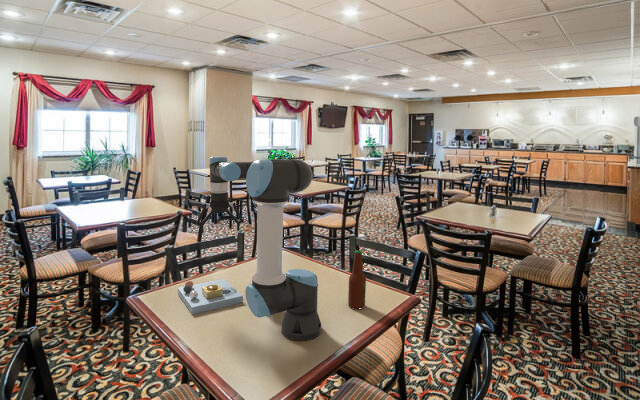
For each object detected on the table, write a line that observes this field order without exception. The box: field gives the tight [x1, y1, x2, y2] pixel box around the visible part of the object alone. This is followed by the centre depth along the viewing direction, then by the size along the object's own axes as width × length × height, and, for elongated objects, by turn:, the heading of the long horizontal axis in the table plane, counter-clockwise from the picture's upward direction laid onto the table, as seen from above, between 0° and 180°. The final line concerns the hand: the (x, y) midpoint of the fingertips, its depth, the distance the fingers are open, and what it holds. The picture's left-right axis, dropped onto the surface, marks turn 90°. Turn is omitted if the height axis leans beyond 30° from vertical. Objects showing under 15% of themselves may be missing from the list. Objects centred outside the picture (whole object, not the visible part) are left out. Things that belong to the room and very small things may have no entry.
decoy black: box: [183, 285, 192, 293], centre depth 165 cm, size 4×4×4 cm
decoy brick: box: [184, 280, 194, 287], centre depth 170 cm, size 4×4×4 cm
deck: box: [177, 278, 244, 315], centre depth 167 cm, size 24×22×3 cm
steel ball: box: [190, 291, 198, 299], centre depth 159 cm, size 4×4×4 cm
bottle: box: [347, 249, 367, 310], centre depth 159 cm, size 7×7×25 cm
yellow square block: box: [202, 284, 223, 299], centre depth 163 cm, size 7×7×4 cm
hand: (220, 239), depth 165 cm, fingers open, 13 cm apart
